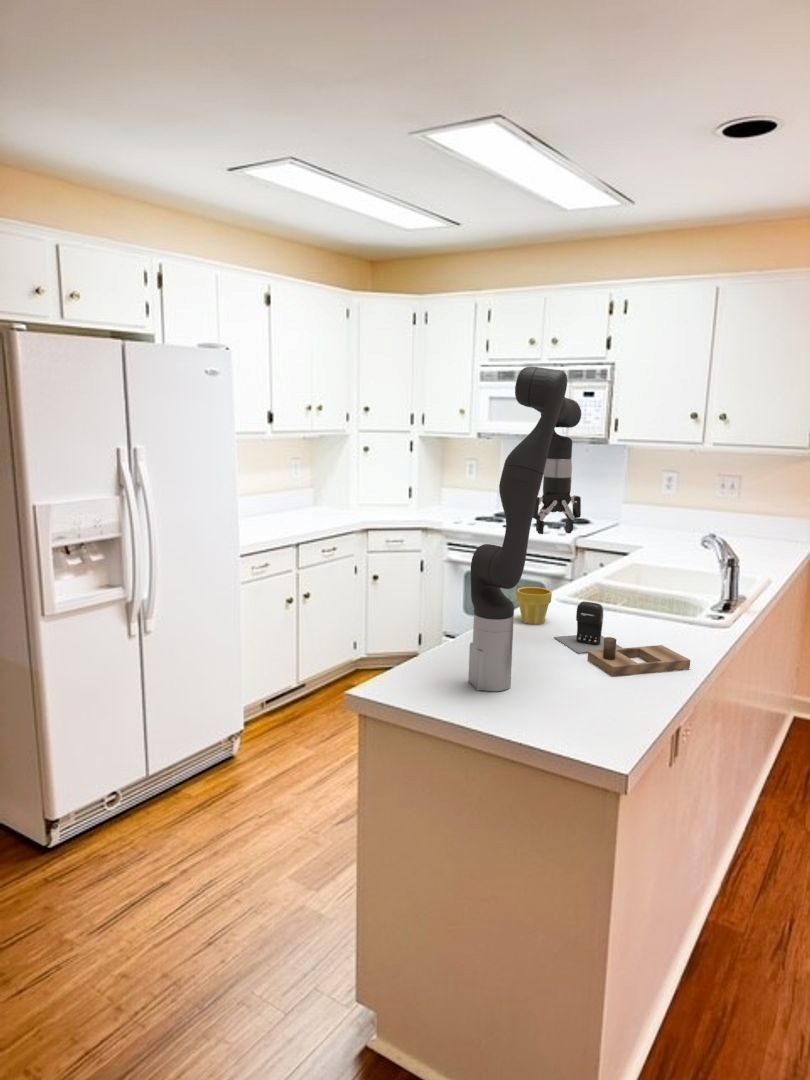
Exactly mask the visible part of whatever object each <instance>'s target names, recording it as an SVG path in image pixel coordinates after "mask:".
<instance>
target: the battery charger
mask: <svg viewBox="0 0 810 1080" xmlns="http://www.w3.org/2000/svg"><path fill="white" fill-rule="evenodd" d="M575 615H576V616H575V617H576V618H575V619H576V624H577V625H576V627H577V628H576V635H577V637H576V640H577V641H578V642H582V643H587V644H594V645H597V644H600V643H601V636H602V631H603V626H604V624H603V623H604V606H603V604H602V603H599V602H594V601H587V600H586V601H585V600H583V601H580V603H579V604H577V608H576V614H575Z"/></svg>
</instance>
